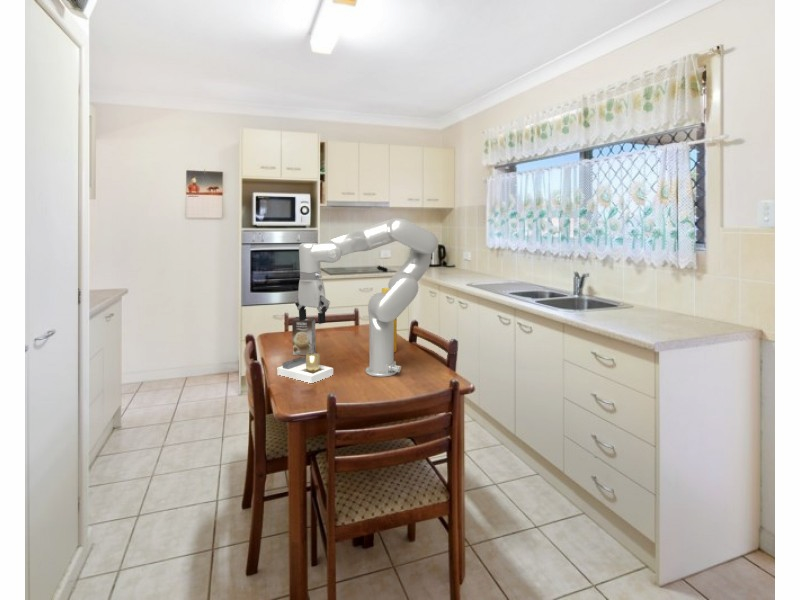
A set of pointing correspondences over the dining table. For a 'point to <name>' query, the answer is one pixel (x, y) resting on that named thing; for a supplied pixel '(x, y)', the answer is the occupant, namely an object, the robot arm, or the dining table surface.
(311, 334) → the coffee box
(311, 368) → the bushing
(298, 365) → the jig
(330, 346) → the dining table surface
